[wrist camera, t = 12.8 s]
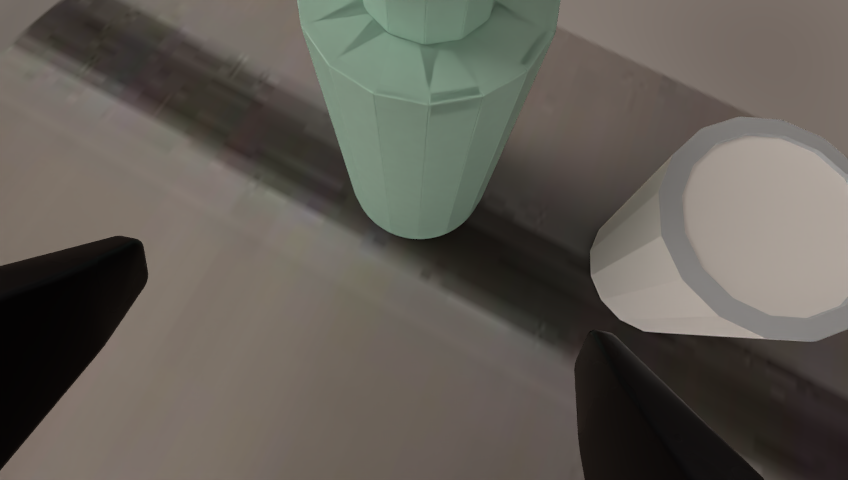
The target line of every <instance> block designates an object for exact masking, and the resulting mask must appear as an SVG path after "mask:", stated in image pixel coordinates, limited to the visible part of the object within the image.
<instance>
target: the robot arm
mask: <svg viewBox="0 0 848 480" xmlns="http://www.w3.org/2000/svg"><path fill="white" fill-rule="evenodd" d="M147 279H148V270H147V264H146V258H145V252H144V247H143V244H142V243H141V241H139V240H138V239H134V238H129V237H124V236H114V237H110V238H107V239H103V240H99V241H95V242H91V243H87V244H84V245H80V246H76V247H72V248H68V249H64V250H60V251H57V252H53V253H49V254H45V255H41V256H37V257H34V258H30V259H26V260H22V261H18V262H14V263H11V264H7V265H3V266H0V470H1V469H2V468H3V467H4V465H5V464H6V463H7V462H8V461H9V459H10V458H11V457H12V456H13V455H14V453H15V452H16V451H17V450H18V449H19V447H20V446H21V445H22V444H23V443H24V441H25V440H26V439H27V438H28V437H29V436H30V434H31V433H32V432H33V431H34V430H35V428H36V427H37V426H38V425H39V424H40V422H41V421H42V420H43V419H44V418H45V416H46V415H47V414H48V413H49V412H50V410H51V409H52V408H53V407H54V406H55V404H56V403H57V402H58V401H59V400H60V399H61V397H62V396H63V395H64V394H65V393H66V391H67V390H68V389H69V388H70V387H71V385H72V384H73V383H74V382H75V381H76V379H77V378H78V377H79V376H80V375H81V373H82V372H83V371H84V370H85V369H86V367H87V366H88V365H89V364H90V363H91V362H92V360H93V359H94V358H95V357H96V355H97V354H98V353H99V352H100V350H101V349H102V348H103V347H104V345H105V344H106V342H107V341H108V340H109V338H110V337H111V335H112V334H113V332H114V331H115V330H116V328H117V327H118V325H119V324H120V322H121V321H122V319H123V318H124V316H125V315H126V313H127V312H128V310H129V309H130V307H131V306H132V304H133V303H134V301H135V300H136V298H137V297H138V295H139V294H140V293H141V291H142V290H143V288H144V286H145V285H146V282H147ZM574 373H575V391H576V408H577V426H578V440H579V448H580V455H581V461H582V467H583V472H584V478H585V480H764V479H763V477H762V476H761V475H760V474H758V473H757V472H756V471H755V470H754V469H753V468H752V467H751V466H750V465H749V464H748V463H747V462H746V461H745V460H744V459H743V458H742V457H741V456H740V455H739V454H738V453H737V452H736V451H735V450H734V449H732V448H731V447H730V446H729V445H728V444H727V443H726V442H725V441H724V440H723V439H722V438H721V437H720V436H719V435H718V434H717V433H716V432H715V431H714V430H713V429H712V428H711V427H710V426H709V425H708V424H706V423H705V422H704V421H703V420H702V419H701V418H700V417H699V416H698V415H697V414H696V413H695V412H694V411H693V410H692V409H691V408H690V407H689V406H688V405H687V404H686V403H685V402H684V401H683V400H682V399H680V398H679V397H678V396H677V395H676V394H675V393H674V392H673V391H672V390H671V389H670V388H669V387H668V386H667V385H666V384H665V383H664V382H663V381H662V380H661V379H660V378H659V377H658V376H657V375H656V374H654V373H653V372H652V371H651V370H650V369H649V368H648V367H647V366H646V365H645V364H644V363H643V362H642V361H641V360H640V359H639V358H638V357H637V356H636V355H635V354H634V353H633V352H632V351H631V350H630V349H628V348H627V347H626V346H625V345H624V344H623V343H622V342H621V341H620V340H619V339H618V338H617V337H616V336H615V335H614V334H612V333H609V332H604V331H599V330H592V331H590V332H589V333H588V335H587V337H586V339H585V341H584V343H583V346H582V348H581V350H580V352H579V355H578V357H577V359H576V362H575V369H574Z"/></svg>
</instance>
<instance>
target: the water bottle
mask: <svg viewBox="0 0 848 480" xmlns="http://www.w3.org/2000/svg"><path fill="white" fill-rule="evenodd" d="M297 3H298V10H299V17H300V23H301V28H302V31H303V34H304V37H305V40H306V43H307V46H308V49H309V52H310V55H311V59H312V62H313V65H314V68H315V71H316V74H317V77H318V80H319V83H320V86H321V90H322V93H323V96H324V99H325V102H326V105H327V108H328V111H329V114H330V117H331V121H332V124H333V127H334V130H335V133H336V136H337V139H338V142H339V145H340V148H341V152H342V155H343V158H344V161H345V164H346V167H347V170H348V173H349V176H350V179H351V183H352V186H353V189H354V192H355V195H356V197H357V199H358V200H359V202H360V204H361V206H362V208H363V210H364V211H365V212H366V214H367V215H368V216H369V217H370V218H371V219H372V220H373V221H374V222H375V223H376V224H377V225H378V226H380V227H381V228H383V229H384V230H386V231H388V232H390V233H392V234H395V235H397V236H401V237H404V238H410V239H428V238H434V237H438V236H441V235H444V234H446V233H449V232H451V231H452V230H454V229H456V228H457V227H459V226H460V225H461V224H463V223H464V222H465V221H466V220H467V219H468V218H469V216H470V215H471V214H472V213H473V211H474V209H475V208H476V206H477V204H478V203H479V201H480V200H481V198H482V196H483V194H484V191H485V189H486V187H487V185H488V182H489V180H490V178H491V176H492V173H493V171H494V169H495V167H496V164H497V162H498V160H499V158H500V156H501V153H502V151H503V149H504V147H505V144H506V142H507V140H508V138H509V135H510V133H511V131H512V129H513V126H514V124H515V122H516V120H517V118H518V115H519V113H520V111H521V109H522V106H523V104H524V102H525V100H526V97H527V95H528V93H529V91H530V88H531V86H532V84H533V82H534V80H535V77H536V75H537V73H538V71H539V68H540V66H541V64H542V62H543V59H544V57H545V55H546V53H547V50H548V48H549V46H550V44H551V41H552V39H553V37H554V35H555V32H556V26H557V19H558V13H559V6H560V0H297Z"/></svg>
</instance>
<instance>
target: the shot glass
mask: <svg viewBox="0 0 848 480" xmlns="http://www.w3.org/2000/svg"><path fill="white" fill-rule="evenodd" d="M590 270H591V278H592V280H593V282H594V285H595V287H596V289H597V292H598V294H599V296H600V299H601V301H602V302H603V303H604V304H605V305H606V306H607V307H608V308H609V309H610V310H611V311H612V312H613V313H614V314H615V315H616V316H617V317H618V318H619V319H620V320H621V321H624V322H626V323H628V324H630V325H632V326H634V327H636V328H638V329H640V330H642V331H644V332H658V333H672V334H689V335H706V336H723V337H739V338H756V339H773V340H790V341H807V342H816V341H818V340H821V339H824V338H826V337H829V336H831V335H834V334H837V333H839V332H842V331H844V330H847V329H848V158H847V157H845V156H844V155H843V154H842V153H841V152H840V151H839V150H837V149H836V148H835V147H834V146H833V145H832V144H830V143H829V142H828V141H827V140H826V139H825V138H823V137H821V136H818V135H816V134H814V133H811V132H809V131H807V130H804V129H802V128H800V127H797V126H795V125H793V124H790V123H788V122H786V121H784V120H777V119H764V118H751V117H736V118H733V119H730V120H727V121H724V122H720V123H717V124H714V125H711V126H708V127H704V128H701V129H700V130H699V131H698V132H697V133H696V134H695V135H694V136H693V137H691V138H690V139H689V140H688V141H687V142H686V143H685V144H684V145H683V146H682V147H681V148H679V149H678V150H677V151H676V152H675V153H674V154H673V155H672V156H671V157H670V158H669V159H668V160H667V161H666V162H665V163H664V164H663V165H662V166H661V167H660V168H659V169H658V170H657V171H656V172H655V173H654V174H653V175H652V176H651V177H650V178H649V179H648V180H647V181H646V182H645V183H644V184H643V185H642V186H641V187H640V188H639V189H638V190H637V191H636V192H635V193H634V194H633V195H632V196H631V197H630V198H629V199H628V201H627V202H626V203H625V204H624V205H623V206H622V207H621V208H620V209H619V210H618V211H617V212H616V213H615V214H614V215H613V216H612V217H611V218H610V219H609V220H608V221H607V222H606V223H605V224H604V225H603V226H602V227H601V228H600V229H599V230H598V233H597V235H596V238H595V240H594V243H593V245H592V248H591V250H590Z"/></svg>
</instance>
